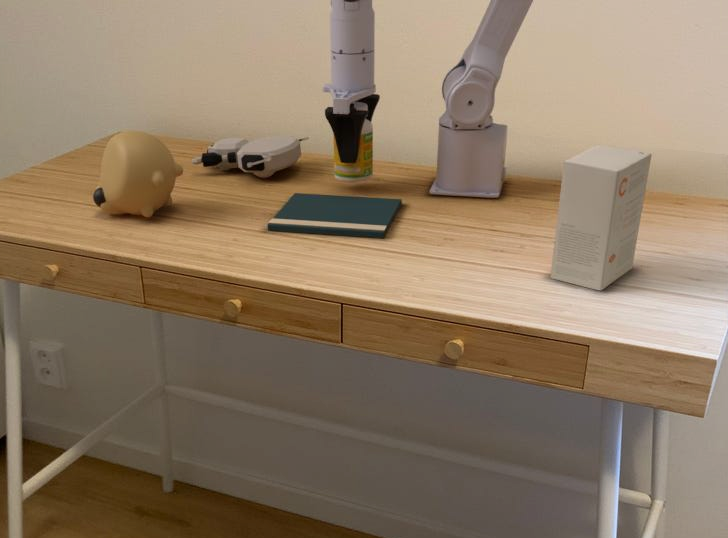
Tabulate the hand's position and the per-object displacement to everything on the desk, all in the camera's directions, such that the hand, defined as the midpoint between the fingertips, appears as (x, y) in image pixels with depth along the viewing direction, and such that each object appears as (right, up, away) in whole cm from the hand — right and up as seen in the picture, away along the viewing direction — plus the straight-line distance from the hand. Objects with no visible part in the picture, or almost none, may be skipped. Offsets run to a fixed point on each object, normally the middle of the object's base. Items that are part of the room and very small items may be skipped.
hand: (353, 156), depth 128 cm
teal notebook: (-2, -10, -7) cm, 13 cm away
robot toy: (-15, +1, +11) cm, 19 cm away
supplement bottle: (0, -3, +2) cm, 3 cm away
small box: (+26, -22, -24) cm, 42 cm away
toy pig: (-29, -9, -4) cm, 30 cm away
